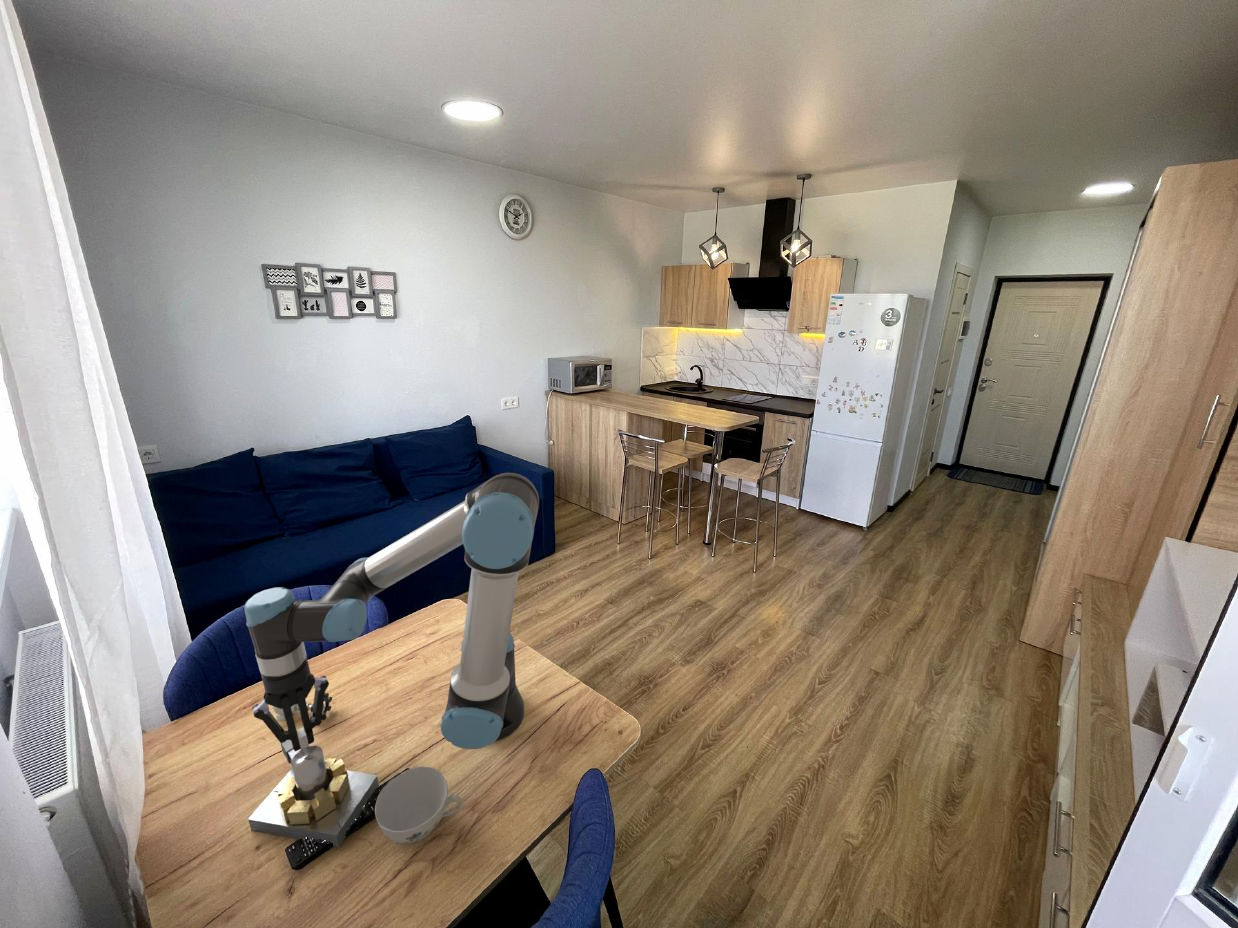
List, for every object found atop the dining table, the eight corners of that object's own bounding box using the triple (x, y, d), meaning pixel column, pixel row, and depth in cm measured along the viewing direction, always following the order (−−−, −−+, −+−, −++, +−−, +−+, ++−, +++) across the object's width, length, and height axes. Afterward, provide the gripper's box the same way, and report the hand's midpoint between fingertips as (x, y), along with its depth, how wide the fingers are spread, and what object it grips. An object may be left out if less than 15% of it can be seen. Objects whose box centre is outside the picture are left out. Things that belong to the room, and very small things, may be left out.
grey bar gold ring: (317, 732, 108) (314, 718, 107) (356, 793, 95) (354, 778, 94) (258, 765, 100) (254, 751, 99) (293, 836, 87) (289, 820, 86)
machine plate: (379, 786, 100) (371, 737, 96) (339, 846, 89) (328, 794, 85) (300, 772, 102) (289, 724, 98) (251, 830, 91) (236, 778, 87)
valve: (267, 725, 113) (316, 730, 112) (261, 703, 111) (311, 708, 110) (288, 704, 119) (334, 708, 119) (283, 682, 117) (330, 686, 117)
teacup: (369, 866, 86) (363, 833, 83) (392, 798, 98) (387, 768, 95) (457, 856, 88) (453, 824, 85) (468, 791, 99) (466, 761, 97)
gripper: (317, 640, 101) (336, 728, 108) (240, 669, 92) (266, 763, 100) (326, 659, 95) (346, 750, 103) (245, 692, 87) (273, 789, 94)
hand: (307, 756), depth 101 cm, fingers closed
